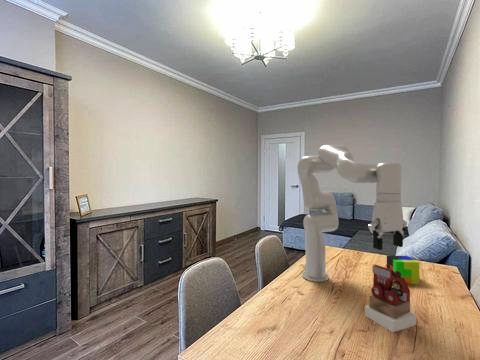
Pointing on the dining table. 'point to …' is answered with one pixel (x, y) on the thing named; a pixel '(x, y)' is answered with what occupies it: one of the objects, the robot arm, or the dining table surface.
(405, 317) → the grey block
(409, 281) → the puzzle toy
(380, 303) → the walnut block
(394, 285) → the toy fire truck
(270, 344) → the dining table surface
